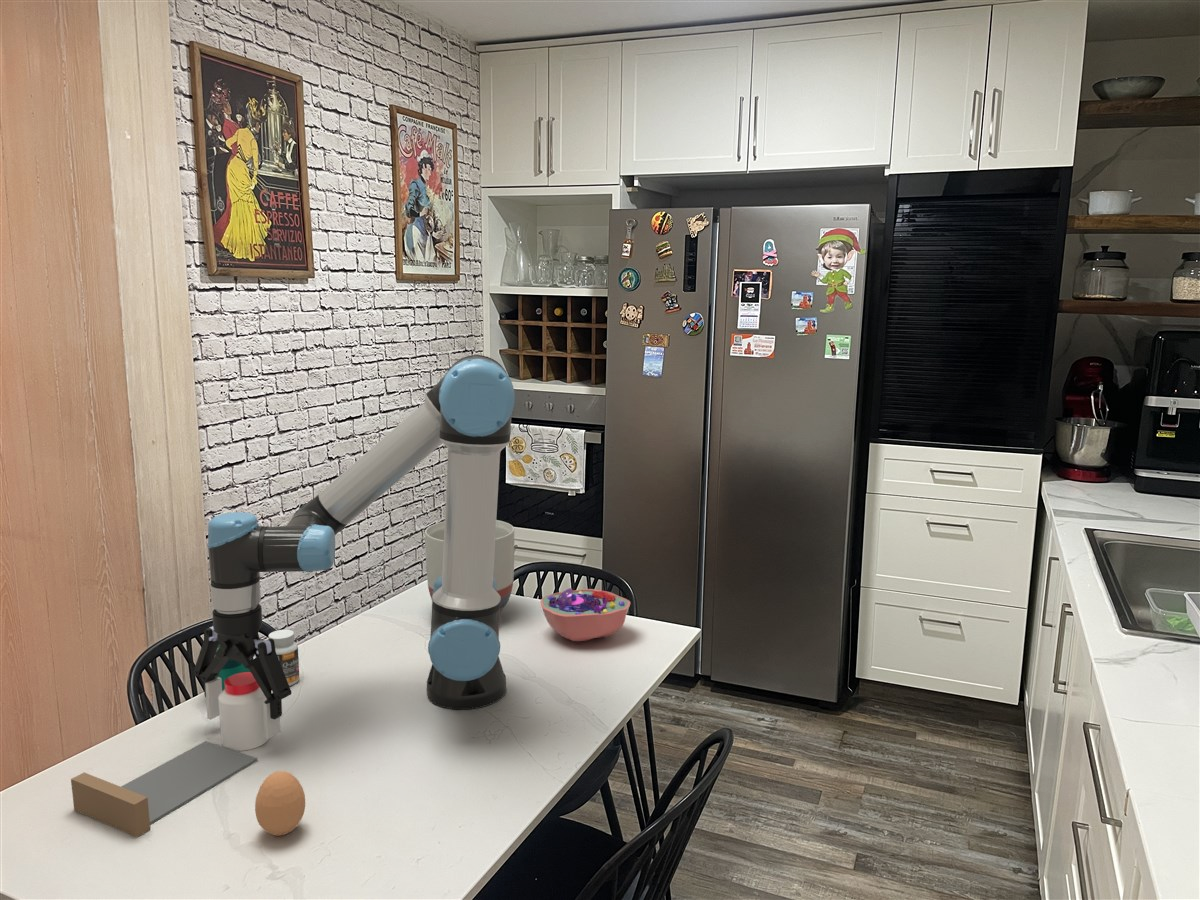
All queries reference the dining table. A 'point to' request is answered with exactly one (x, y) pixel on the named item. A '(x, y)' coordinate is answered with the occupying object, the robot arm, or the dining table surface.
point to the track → (156, 788)
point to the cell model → (585, 613)
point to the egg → (280, 803)
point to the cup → (231, 670)
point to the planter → (502, 557)
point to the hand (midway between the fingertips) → (243, 725)
